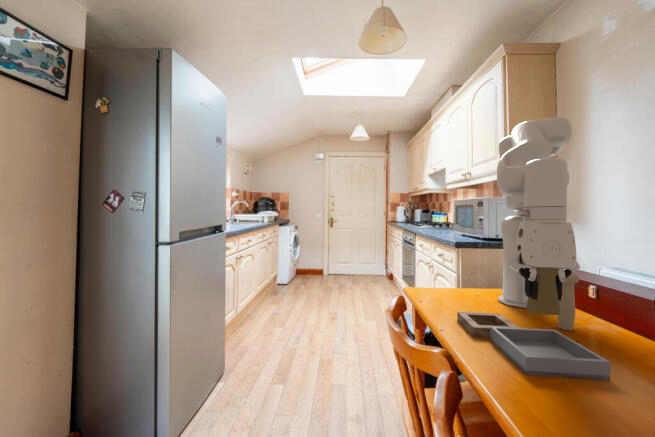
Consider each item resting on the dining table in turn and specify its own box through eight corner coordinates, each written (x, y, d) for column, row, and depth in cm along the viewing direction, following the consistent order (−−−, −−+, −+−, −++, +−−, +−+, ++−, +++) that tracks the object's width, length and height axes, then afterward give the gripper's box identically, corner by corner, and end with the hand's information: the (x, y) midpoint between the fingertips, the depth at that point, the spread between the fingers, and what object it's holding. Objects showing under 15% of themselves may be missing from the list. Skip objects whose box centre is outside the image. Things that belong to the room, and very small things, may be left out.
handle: (558, 331, 76) (559, 276, 75) (551, 323, 81) (552, 272, 81) (581, 335, 73) (582, 278, 73) (572, 326, 79) (573, 274, 79)
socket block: (457, 320, 83) (457, 311, 83) (499, 322, 82) (499, 313, 82) (473, 337, 72) (473, 327, 72) (522, 339, 70) (522, 329, 70)
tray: (490, 340, 70) (490, 326, 70) (555, 344, 68) (555, 329, 68) (525, 374, 55) (526, 356, 55) (610, 380, 53) (610, 362, 53)
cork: (567, 316, 58) (568, 263, 58) (534, 313, 59) (535, 262, 59) (550, 307, 64) (551, 259, 64) (520, 305, 65) (521, 258, 65)
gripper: (513, 215, 58) (511, 302, 58) (600, 215, 56) (599, 305, 57) (495, 215, 66) (494, 292, 66) (572, 216, 64) (571, 295, 64)
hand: (543, 297), depth 61 cm, fingers closed on cork, 4 cm apart
